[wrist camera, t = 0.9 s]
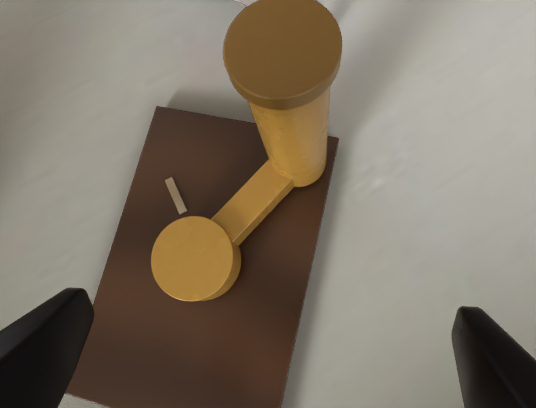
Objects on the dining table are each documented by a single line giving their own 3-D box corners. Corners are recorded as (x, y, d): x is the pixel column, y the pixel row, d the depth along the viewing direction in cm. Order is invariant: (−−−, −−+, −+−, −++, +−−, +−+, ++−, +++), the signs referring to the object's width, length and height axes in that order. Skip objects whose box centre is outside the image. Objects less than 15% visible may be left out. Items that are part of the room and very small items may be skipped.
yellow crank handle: (202, 317, 22) (89, 338, 11) (151, 262, 23) (2, 233, 12) (349, 161, 23) (375, 41, 12) (293, 115, 24) (272, -33, 13)
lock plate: (271, 453, 21) (268, 461, 20) (74, 389, 23) (62, 394, 22) (338, 143, 25) (339, 136, 24) (161, 112, 27) (155, 104, 26)
